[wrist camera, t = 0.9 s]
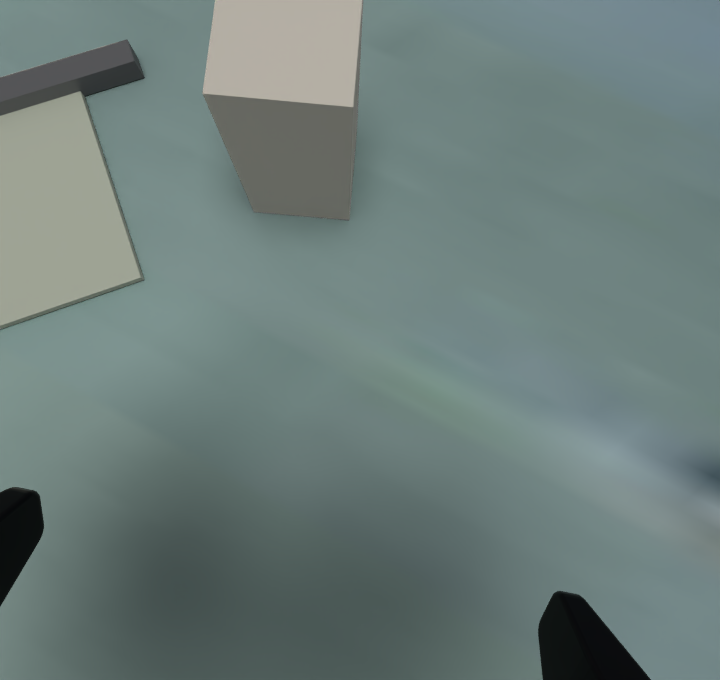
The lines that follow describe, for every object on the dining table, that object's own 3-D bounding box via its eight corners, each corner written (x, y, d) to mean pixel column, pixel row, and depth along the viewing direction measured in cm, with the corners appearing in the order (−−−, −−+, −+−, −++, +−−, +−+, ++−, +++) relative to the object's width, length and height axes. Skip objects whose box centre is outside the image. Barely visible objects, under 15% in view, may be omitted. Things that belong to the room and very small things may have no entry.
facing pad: (-72, 353, 23) (-79, 352, 22) (-122, 158, 24) (-130, 154, 24) (144, 279, 23) (140, 277, 23) (84, 94, 25) (79, 89, 24)
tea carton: (349, 220, 24) (352, 107, 15) (254, 212, 24) (202, 93, 15) (356, 130, 25) (364, -29, 16) (264, 121, 25) (221, -43, 16)
